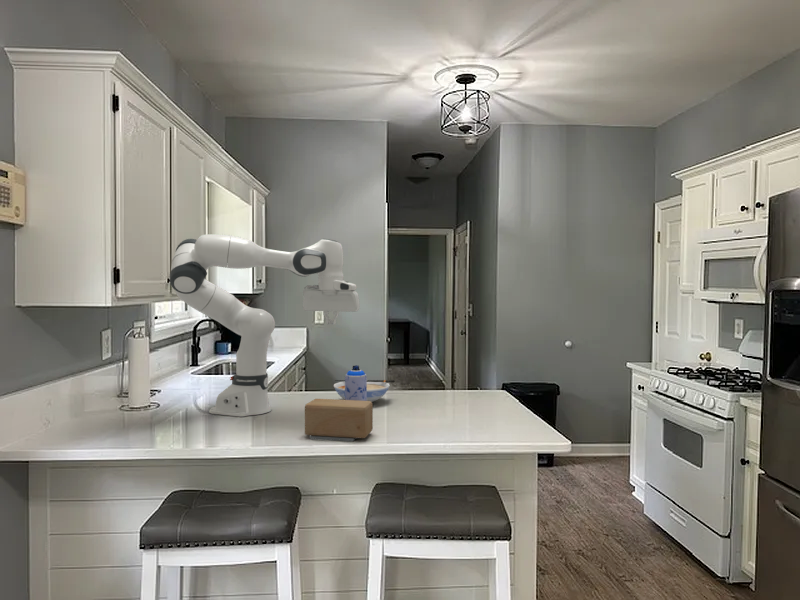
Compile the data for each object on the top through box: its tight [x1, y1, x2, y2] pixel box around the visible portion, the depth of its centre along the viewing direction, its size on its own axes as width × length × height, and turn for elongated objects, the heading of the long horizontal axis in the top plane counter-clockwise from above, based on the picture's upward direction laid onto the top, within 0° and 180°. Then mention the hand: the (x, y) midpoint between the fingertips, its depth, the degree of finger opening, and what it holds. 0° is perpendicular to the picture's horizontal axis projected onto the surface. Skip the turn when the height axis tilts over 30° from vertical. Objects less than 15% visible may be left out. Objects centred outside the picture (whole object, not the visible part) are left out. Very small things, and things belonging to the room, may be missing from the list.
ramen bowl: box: [333, 379, 396, 403], centre depth 236 cm, size 25×23×8 cm
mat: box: [309, 435, 357, 442], centre depth 186 cm, size 14×11×1 cm
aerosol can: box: [344, 365, 368, 401], centre depth 203 cm, size 8×8×20 cm
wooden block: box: [304, 398, 374, 439], centre depth 186 cm, size 10×10×20 cm
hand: (331, 324), depth 207 cm, fingers closed
